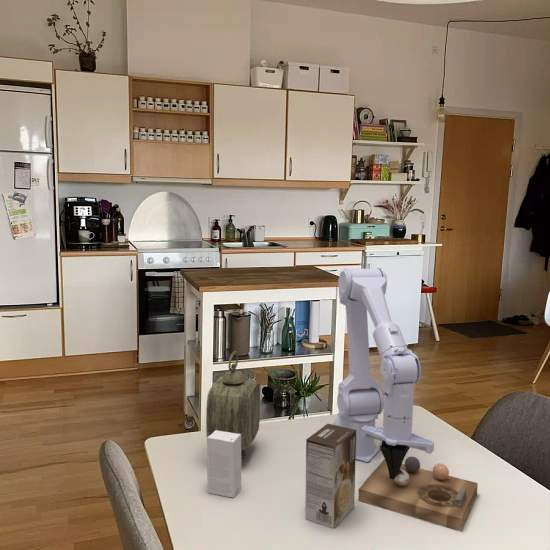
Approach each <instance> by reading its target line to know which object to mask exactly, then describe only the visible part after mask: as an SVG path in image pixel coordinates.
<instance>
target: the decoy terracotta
mask: <svg viewBox="0 0 550 550" xmlns="http://www.w3.org/2000/svg"><path fill="white" fill-rule="evenodd" d="M432 472H433V474H434V476H435V477H436V478H437V479H439V480H444V479H446V478H447V477H448V476H450V475H449V474H450V471H449V468H448V467H447V465H445V464H444V463H437V464H435V465H434V466H433V468H432Z"/></svg>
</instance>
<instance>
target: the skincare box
mask: <svg viewBox="0 0 550 550" xmlns="http://www.w3.org/2000/svg"><path fill="white" fill-rule="evenodd" d="M206 449H207V450H206V453H207V454H206V456H207V457H206V459H207V460H206V461H207V463H206V464H207V465H206V467H207V471H206V472H207V493H208V494H213V495H217V496H222V497H228V498H235V497H236V496H237V495H238V493H239V492H240V491H241V489H242V457H241V434H237V433H230V432H224V431H217V430H215V431H214V432H213V433H212V434H211V435H210V436H209V437H207V436H206Z"/></svg>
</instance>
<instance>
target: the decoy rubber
mask: <svg viewBox="0 0 550 550" xmlns="http://www.w3.org/2000/svg"><path fill="white" fill-rule="evenodd" d="M404 460H405V461H404V464H405V468H406V469H407V470H408V471H409V472H416V471H418V470H419V468H420V467H421V462H420V460H419V458H417V457H416V456H409V457H407V458H406V459H404Z"/></svg>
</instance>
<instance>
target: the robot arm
mask: <svg viewBox="0 0 550 550" xmlns="http://www.w3.org/2000/svg"><path fill="white" fill-rule="evenodd" d="M387 284H388V279H387V274H386V272H385V270H384V269H383V268H382V267H377V268H346V267H345V268H343V269H342V270H341V272H339V276H338V298H339V303H340V305H343V306H345V314H346V330H347V352H348V353H347V354H348V370H349V371H348V376H347V377H345V378H344V379H343V380H342V381H340V383H339V384H338V387H337V390H338V391H337V392H338V393H337V397H336V404H337V410H338V413H337V414H336V415H335V418H334V421H333V424H332V425H337V426H342V427H346V428H350V429H354V430H357V431H356V458H355V460H357V461H361V462H365V463H369V462H371V460H372V459H373V458H374V457H375V456H376V455H377V454H378V452H379V451H380V452H381V454H382V456H383V459H385V461H386V463H387V467H388V471H389V477H390V479H393V480H394V479H395V477H396V474H397V472H398V470H400V467H401V465H402V464H403V461H404V460H405V457H406V455H407V454H408V451H409V450H410V449H415V450H419V451H424V452H425V453H426V454H429V455H431V454H432V453H434V450H435V449H434V448H435V441H434V440H432V439H431V440H430V439H427V438H425V437H422V436H420V435H417V434H415V433H413V431H412V430H413V417H414V416H413V413H414V412H413V411H414V394H415V393H414V392H415V384H417V383H418V382H419V381H420V379H421V374H422V373H421V372H422V369H421V363H420V359H419V357H418V356H417V355H416V354H415V353H414V352H413V351H412V350H411V349H408V346H407V344H406V341H405V339H404V336H403V334H402V330H401V329H400V326H399V325H398V324H397V323H394V322H392V318H391V315H390V310H389V307H388V304H387V300H386V293H387V287H388V285H387ZM368 314H369V316H370V319H371V321H372V323H373V325H374V327H375V329H374V330H373V333H372V336H373V340H374V343H375V346H376V349H377V351H378V355H379V358H380V360H381V363H380V366H379V372H380V373H379V374H380V378H381V383H380V382H379V381H378V380H377V379H376V378H374V377H372V375H371V362H370V361H371V360H370V343H369V342H370V341H369V324H368V323H369V322H368ZM382 391H383V392H384V393H383V392H382ZM382 413H383V416H382V427H380V426H376V420H377V419H379V415H381V414H382ZM375 440H379V441H381V445H380V446H379V447H378V446H375Z"/></svg>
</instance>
